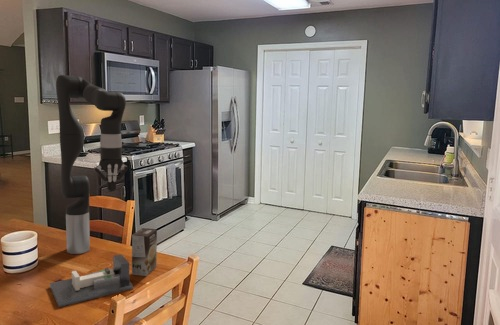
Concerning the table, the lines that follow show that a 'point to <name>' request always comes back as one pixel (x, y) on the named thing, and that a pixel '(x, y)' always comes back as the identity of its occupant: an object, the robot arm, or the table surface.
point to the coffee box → (144, 251)
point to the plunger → (88, 278)
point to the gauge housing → (94, 285)
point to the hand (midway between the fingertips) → (111, 191)
